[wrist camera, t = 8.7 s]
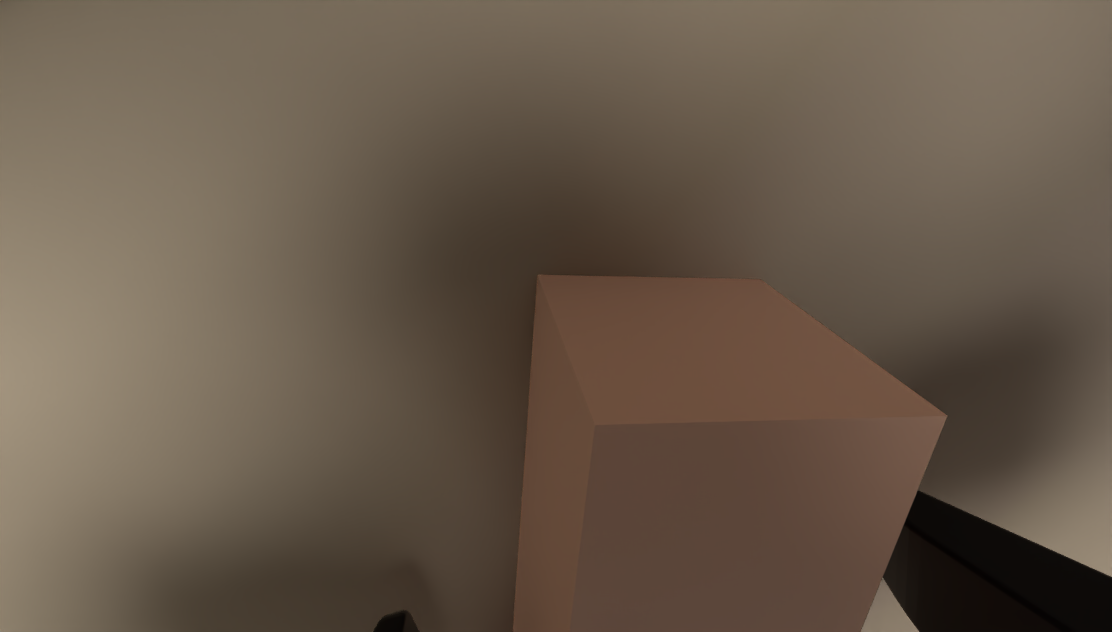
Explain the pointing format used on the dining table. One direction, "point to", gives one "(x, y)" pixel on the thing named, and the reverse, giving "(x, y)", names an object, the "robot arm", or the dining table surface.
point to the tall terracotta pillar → (707, 462)
